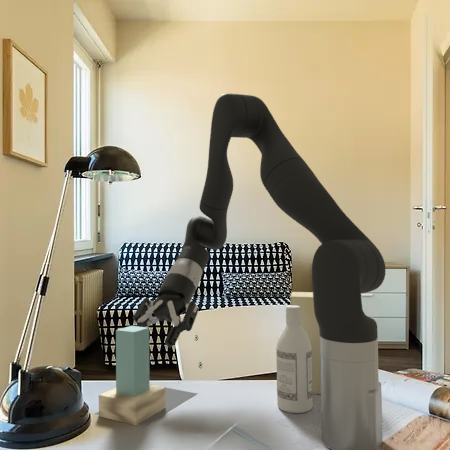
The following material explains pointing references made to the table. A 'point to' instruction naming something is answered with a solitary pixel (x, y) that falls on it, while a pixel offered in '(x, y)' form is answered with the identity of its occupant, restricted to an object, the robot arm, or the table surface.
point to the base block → (132, 405)
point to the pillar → (132, 360)
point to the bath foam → (294, 365)
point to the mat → (169, 403)
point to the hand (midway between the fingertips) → (151, 343)
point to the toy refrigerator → (310, 332)
